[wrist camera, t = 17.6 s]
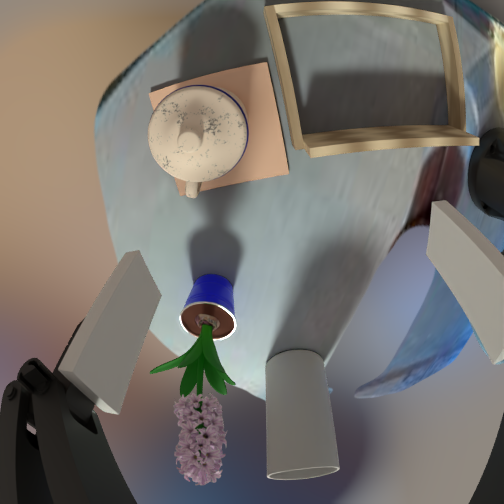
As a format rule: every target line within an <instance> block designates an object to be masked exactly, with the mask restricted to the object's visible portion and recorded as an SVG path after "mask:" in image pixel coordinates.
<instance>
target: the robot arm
mask: <svg viewBox="0 0 504 504" xmlns="http://www.w3.org/2000/svg"><path fill="white" fill-rule="evenodd" d="M468 186H469V192H470V195H471V198H472V200H473V202H474V204H475V205H476V206H477V207H478V208H479V209H480V210H481V211H483V212H484V213H485V214H487V215H488V216H491V217H494V218H497V219H500V220H503V221H504V129H502V128H495V129H492V130H490V131H488V132H487V133H486V134H484V135H483V136H482V138H481V139H480V140H479V146H476V147H475V149H474V152H473V154H472V157H471V161H470V165H469V172H468ZM426 255H427V256H428V258H429V259H430V260H431V262H432V263H433V265H434V266H435V268H436V269H437V270H438V272H439V273H440V275H441V276H442V278H443V279H444V281H445V282H446V284H447V285H448V287H449V288H450V290H451V291H452V293H453V294H454V296H455V297H456V299H457V301H458V302H459V304H460V305H461V307H462V309H463V310H464V312H465V314H466V315H467V317H468V319H469V320H470V324H471V327H472V329H473V332H474V334H475V336H476V338H477V340H478V342H479V344H480V346H481V348H482V349H483V351H484V352H485V354H486V355H487V356H489V358H490V360H491V362H492V364H493V365H494V364H502V363H504V250H503V252H501V253H500V252H499V251H498V249H497V248H496V247H495V246H494V245H493V244H492V243H491V242H490V241H489V240H488V239H487V238H486V237H485V236H484V235H483V234H482V233H481V232H480V231H479V230H478V229H477V228H476V227H475V226H474V225H473V224H472V223H470V222H469V221H468V220H467V219H466V218H465V217H464V216H463V215H462V214H461V213H460V212H458V211H457V210H456V209H455V208H454V207H453V206H452V205H450V204H449V203H448V202H447V201H446V200H444V201H436V202H432V210H431V221H430V230H429V239H428V246H427V252H426ZM161 296H162V295H161V293H160V291H159V289H158V288H157V286H156V284H155V282H154V280H153V278H152V276H151V274H150V272H149V270H148V268H147V266H146V264H145V262H144V259H143V257H142V255H141V253H140V251H139V250H137V251H132V252H127V253H125V255H124V256H123V258H122V259H121V261H120V262H119V264H118V265H117V267H116V268H115V270H114V271H113V273H112V275H111V276H110V278H109V279H108V281H107V282H106V284H105V285H104V287H103V289H102V290H101V292H100V293H99V295H98V297H97V299H96V300H95V302H94V303H93V305H92V307H91V309H90V310H89V312H88V314H87V316H86V317H85V318H84V319H83V321H82V322H80V324H79V325H78V326H77V328H76V329H75V331H74V333H73V335H72V337H71V338H70V340H69V342H68V345H67V346H66V348H65V350H64V352H63V353H62V356H61V357H60V359H59V361H58V363H57V365H56V367H55V369H54V371H53V373H52V372H51V371H50V370H49V369H48V368H47V367H46V366H45V365H44V364H43V363H42V362H41V361H40V360H39V359H37V358H32V359H29V360H28V361H27V362H25V363H24V364H23V366H22V367H21V368H20V370H19V373H18V376H17V380H16V381H15V380H14V381H12V382H11V383H9V384H8V385H7V386H6V389H5V390H4V394H3V398H2V403H1V411H0V504H137V502H136V501H135V499H134V497H133V495H132V493H131V491H130V490H129V488H128V486H127V484H126V482H125V480H124V478H123V476H122V474H121V472H120V469H119V468H118V465H117V463H116V461H115V459H114V456H113V454H112V452H111V449H110V447H109V445H108V442H107V439H106V437H105V434H104V432H103V429H102V426H101V424H100V421H99V418H98V415H97V414H96V412H95V411H94V410H93V408H94V405H96V406H98V407H99V408H100V409H101V410H103V411H104V412H108V413H113V414H120V410H121V407H122V404H123V401H124V398H125V395H126V391H127V388H128V385H129V382H130V379H131V376H132V373H133V371H134V368H135V364H136V362H137V359H138V356H139V353H140V351H141V348H142V345H143V343H144V339H145V337H146V334H147V331H148V329H149V327H150V324H151V321H152V319H153V316H154V314H155V311H156V308H157V306H158V303H159V301H160V298H161ZM27 423H28V424H29V425H31V426H32V427H33V428H35V429H36V435H34V434H32V433H31V432H30V431H28V430H27ZM469 504H504V413H503V417H502V421H501V424H500V428H499V431H498V434H497V438H496V440H495V443H494V446H493V449H492V452H491V455H490V458H489V460H488V463H487V465H486V468H485V470H484V473H483V475H482V477H481V479H480V482H479V484H478V486H477V488H476V490H475V492H474V494H473V496H472V498H471V500H470V502H469Z"/></svg>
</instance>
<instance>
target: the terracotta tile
mask: <svg viewBox="0 0 504 504" xmlns="http://www.w3.org/2000/svg"><path fill="white" fill-rule="evenodd" d="M190 85H208V86H214V87H221V88H224V89H227V90H229V91H231V92H232V93H234V94H235V95H236V96H237V97H238V98H239V99H240V100H241V101H242V103H243V104H244V106H245V108H246V111H247V115H248V129H249V137H248V144H247V147H246V150H245V153H244V154H243V156H242V158H241V160H240V161H239V162H238V164H237V165H236V166H235V167H234V168H233V169H232V170H231V171H229V172H228V173H227V174H225V175H223V176H221V177H219V178H217V179H214V180H210V181H205V182H202V185H201V189H200V191H204V190H209V189H213V188H218V187H223V186H227V185H232V184H237V183H242V182H247V181H252V180H257V179H263V178H268V177H274V176H279V175H285V174H289V170H288V164H287V158H286V153H285V147H284V142H283V137H282V131H281V126H280V121H279V116H278V111H277V106H276V102H275V97H274V92H273V87H272V83H271V78H270V74H269V69H268V65H267V62H265V63H259V64H253V65H248V66H243V67H238V68H233V69H229V70H225V71H220V72H216V73H212V74H209V75H205V76H201V77H198V78H194V79H191V80H187V81H184V82H181V83H178V84H174V85H171V86H168V87H165V88H163V89H160V90H157V91H154V92H151V93H149V96H150V99H151V103H152V106H153V110H155V108H156V107H157V105H158V104H159V103H160V102H161V101H162V100H163V99H164V98H165V97H166V96H167V95H169V94H170V93H171V92H173V91H175V90H177V89H179V88H182V87H185V86H190ZM174 178H175V181H176V184H177V187H178V190H179V193H180V196H183V195H186V193H185V185H186V181H184V180H181V179H178V178H176V177H174Z"/></svg>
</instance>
